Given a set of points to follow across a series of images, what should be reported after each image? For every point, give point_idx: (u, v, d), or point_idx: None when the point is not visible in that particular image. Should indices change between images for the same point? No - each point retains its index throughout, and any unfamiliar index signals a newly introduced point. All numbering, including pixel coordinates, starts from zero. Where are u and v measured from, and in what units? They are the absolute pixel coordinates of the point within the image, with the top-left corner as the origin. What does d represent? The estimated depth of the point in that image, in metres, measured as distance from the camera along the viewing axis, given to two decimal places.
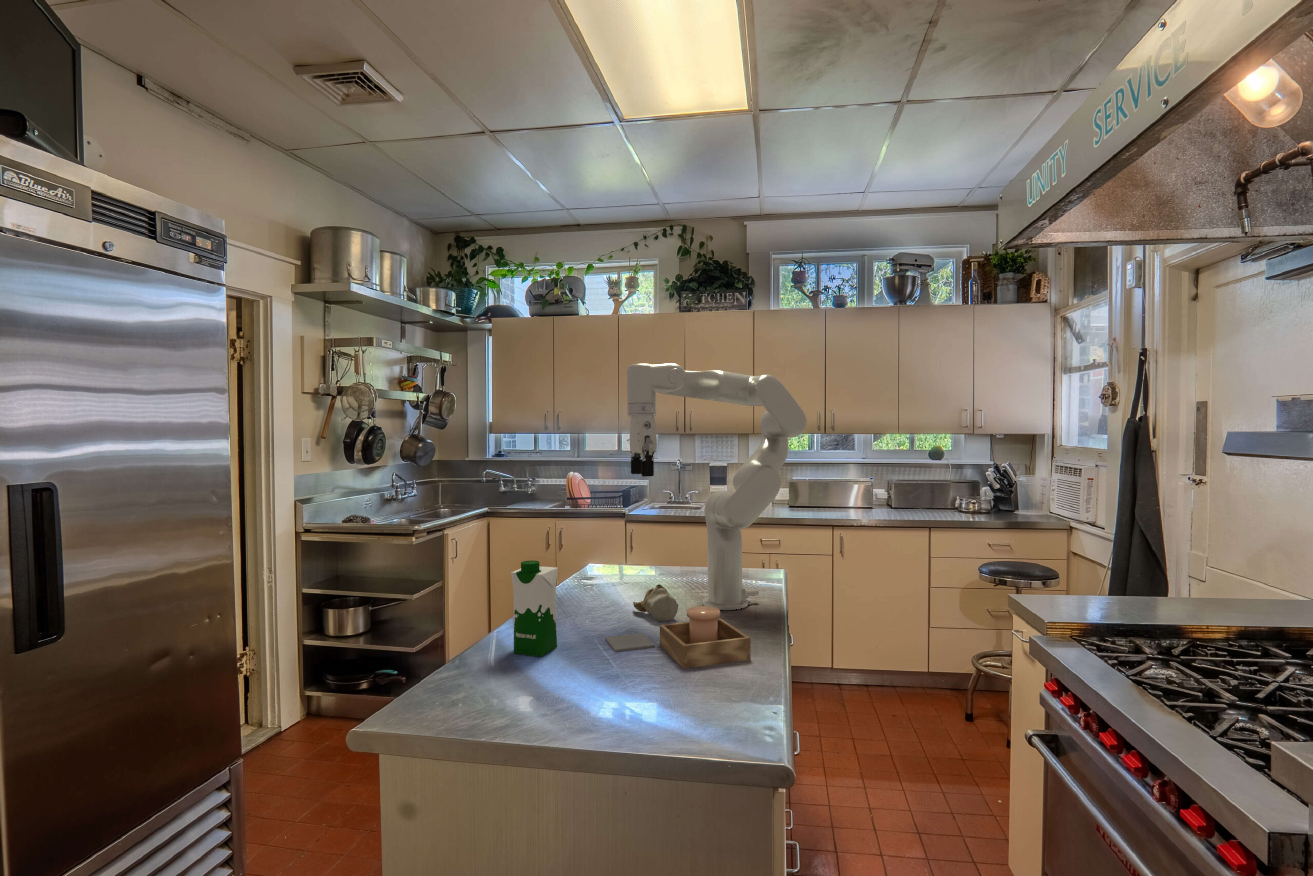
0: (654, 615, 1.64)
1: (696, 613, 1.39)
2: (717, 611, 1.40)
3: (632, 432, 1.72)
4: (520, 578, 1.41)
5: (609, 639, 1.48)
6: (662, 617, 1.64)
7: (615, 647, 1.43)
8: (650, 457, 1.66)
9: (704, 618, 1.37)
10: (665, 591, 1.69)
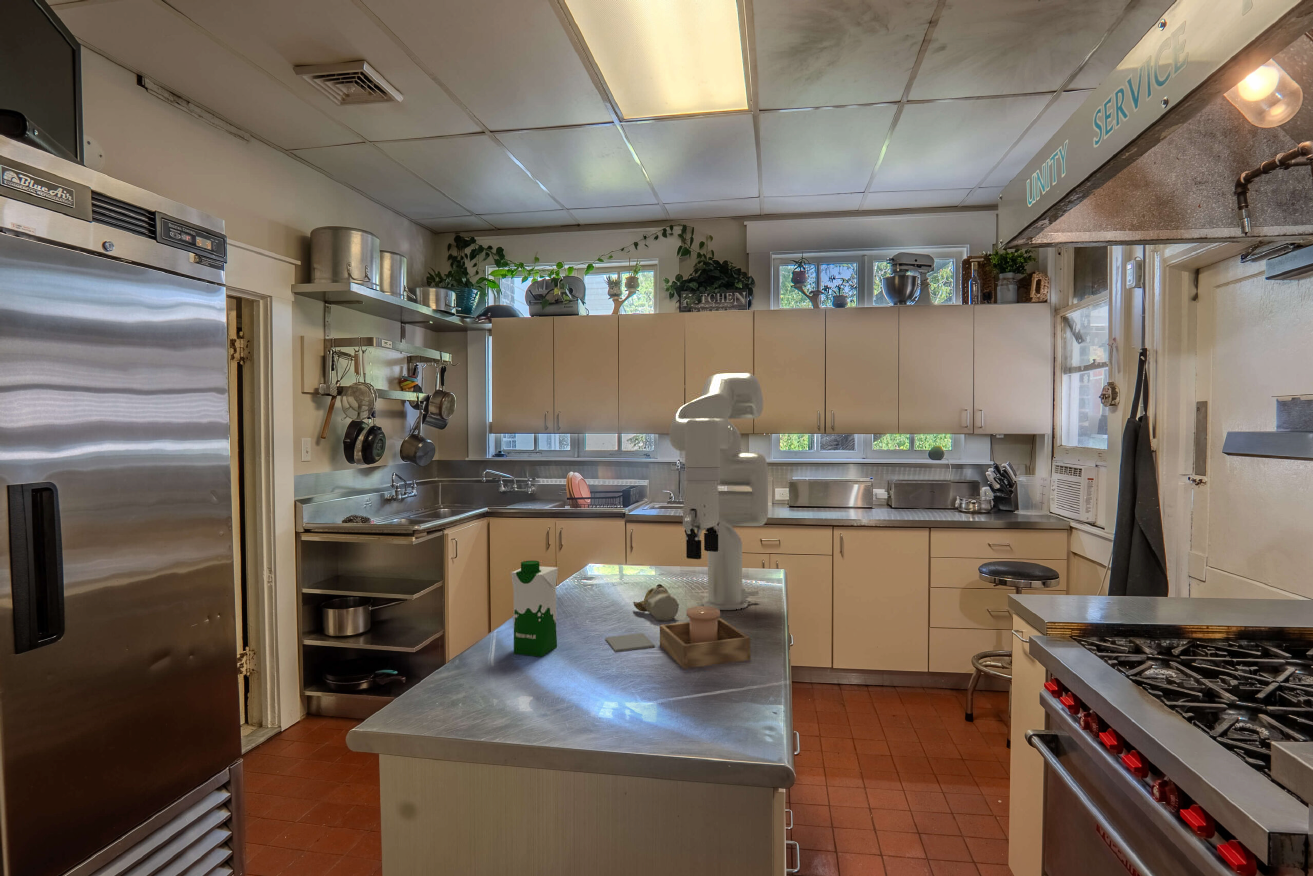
0: (655, 615, 1.65)
1: (696, 613, 1.39)
2: (717, 611, 1.40)
3: (712, 502, 1.39)
4: (520, 578, 1.41)
5: (609, 639, 1.48)
6: (662, 616, 1.65)
7: (615, 647, 1.43)
8: None
9: (704, 618, 1.37)
10: (666, 591, 1.69)
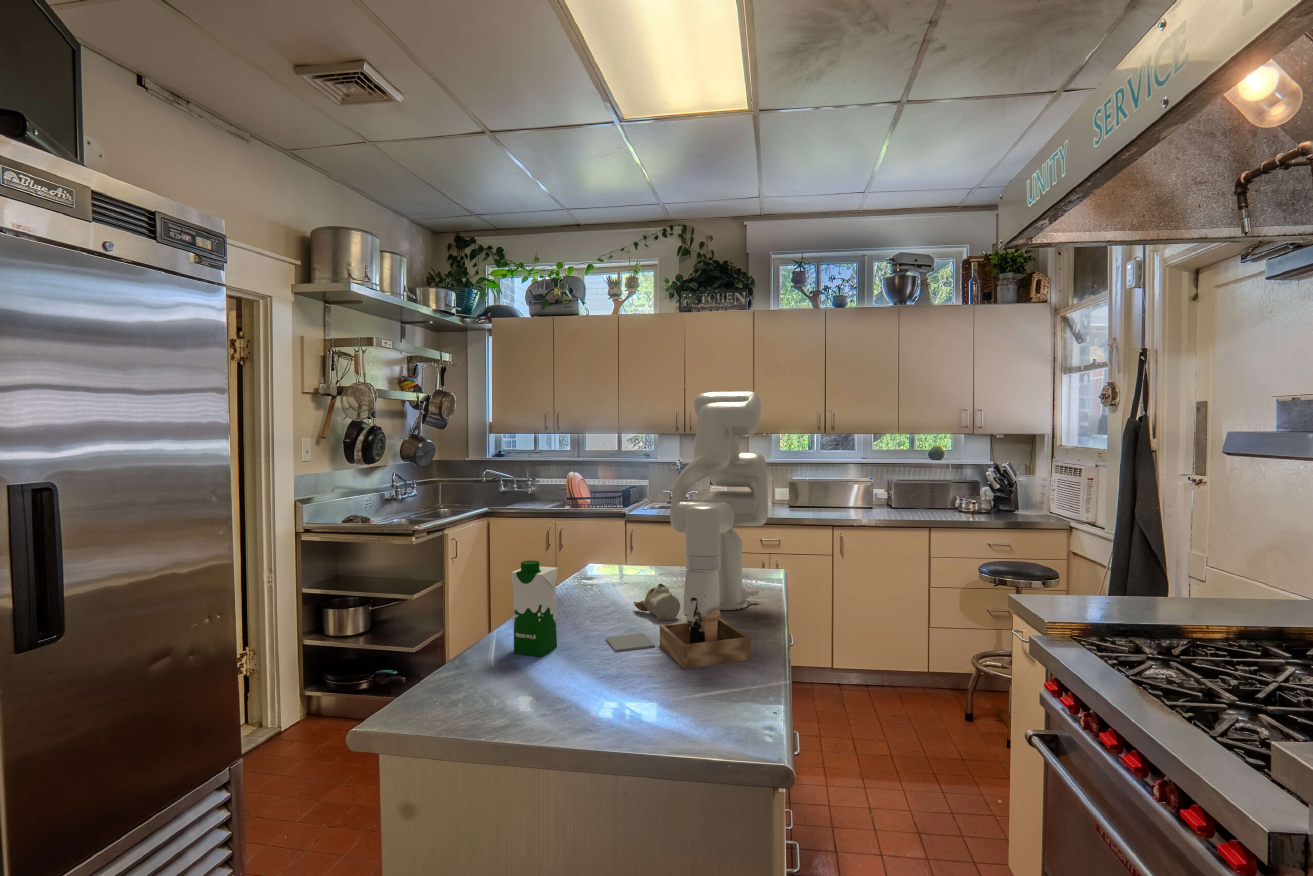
0: (657, 614, 1.65)
1: None
2: (717, 611, 1.40)
3: (713, 590, 1.39)
4: (520, 578, 1.41)
5: (609, 639, 1.48)
6: (664, 616, 1.65)
7: (615, 647, 1.43)
8: None
9: (704, 618, 1.37)
10: (667, 590, 1.69)
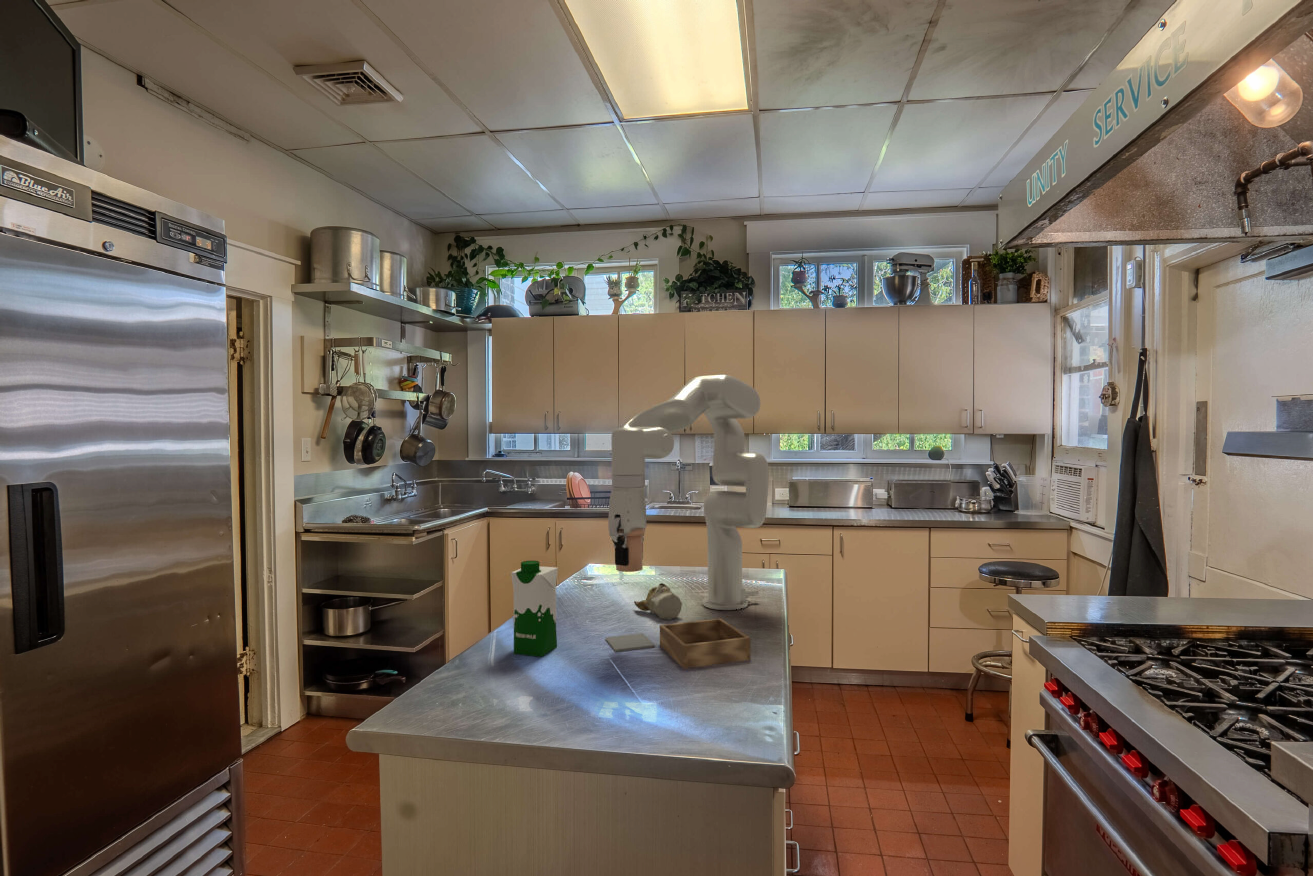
0: (659, 613, 1.66)
1: None
2: (642, 529, 1.46)
3: (637, 508, 1.45)
4: (520, 578, 1.41)
5: (609, 639, 1.48)
6: (667, 615, 1.66)
7: (615, 647, 1.43)
8: None
9: (628, 534, 1.43)
10: (668, 589, 1.70)
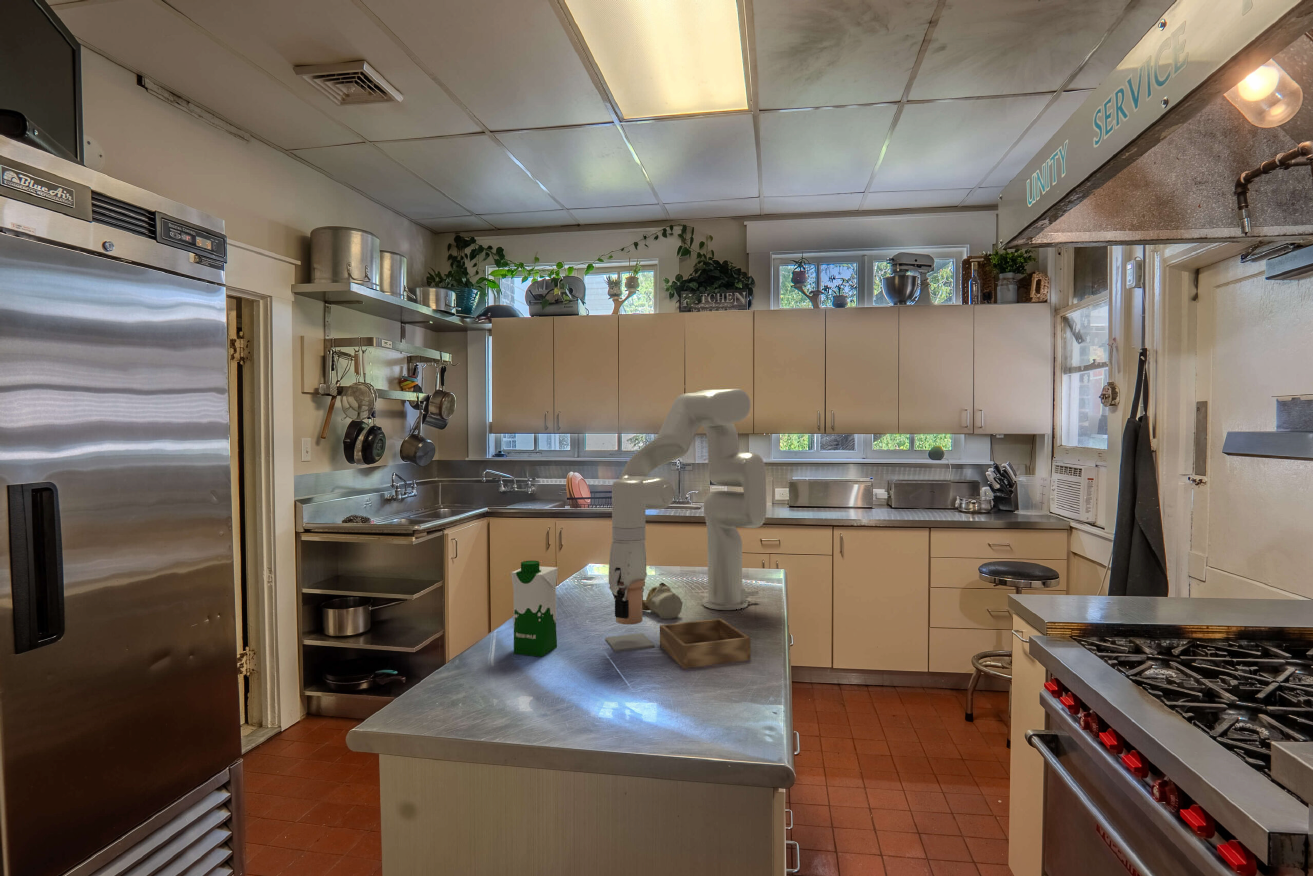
0: (660, 613, 1.66)
1: (621, 583, 1.45)
2: (642, 581, 1.46)
3: (638, 560, 1.45)
4: (520, 578, 1.41)
5: (609, 639, 1.48)
6: (667, 614, 1.66)
7: (615, 647, 1.43)
8: None
9: (628, 587, 1.43)
10: (669, 589, 1.71)
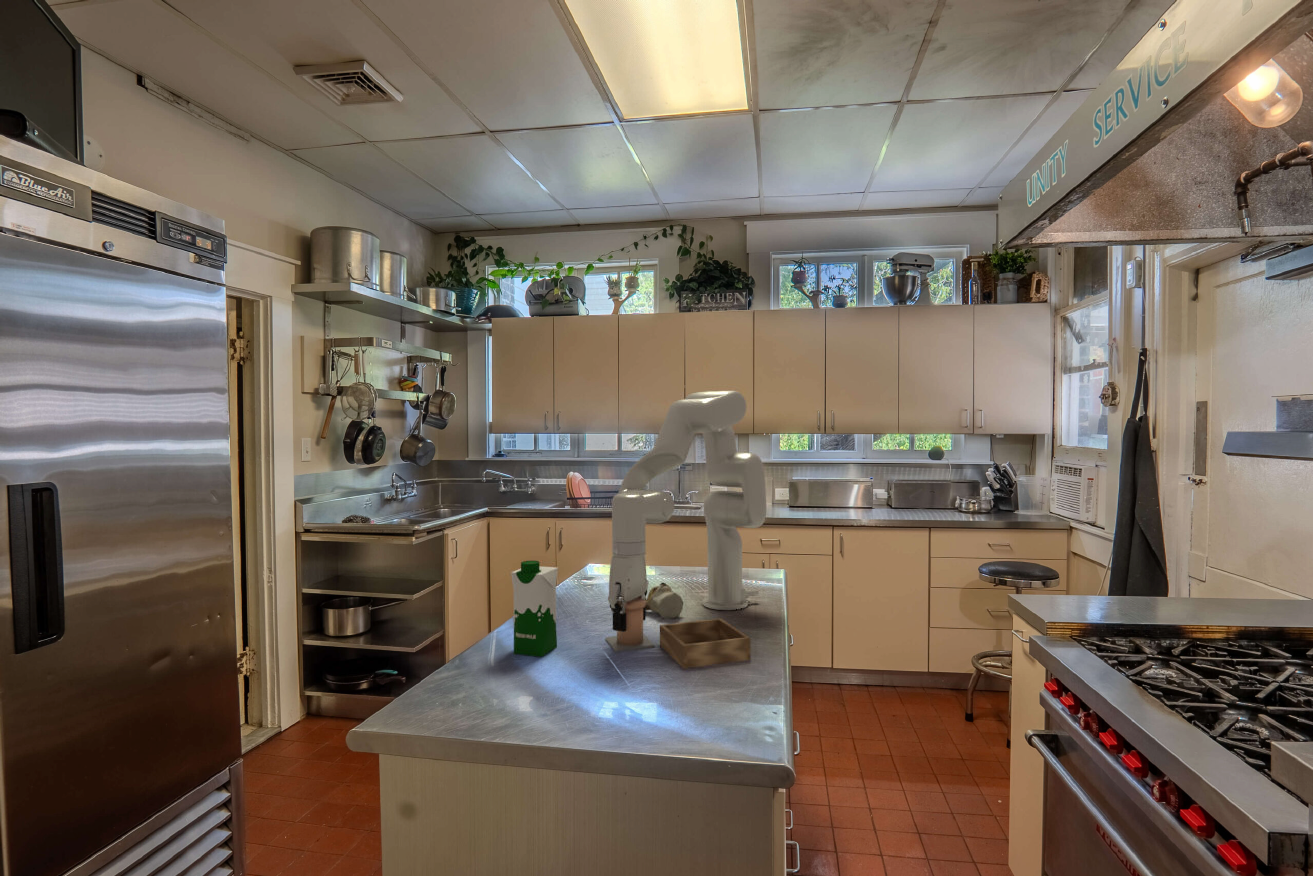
0: (661, 613, 1.66)
1: None
2: (642, 602, 1.46)
3: (638, 575, 1.46)
4: (520, 578, 1.41)
5: (609, 639, 1.48)
6: (669, 614, 1.67)
7: (615, 647, 1.43)
8: None
9: (629, 608, 1.43)
10: (670, 589, 1.71)
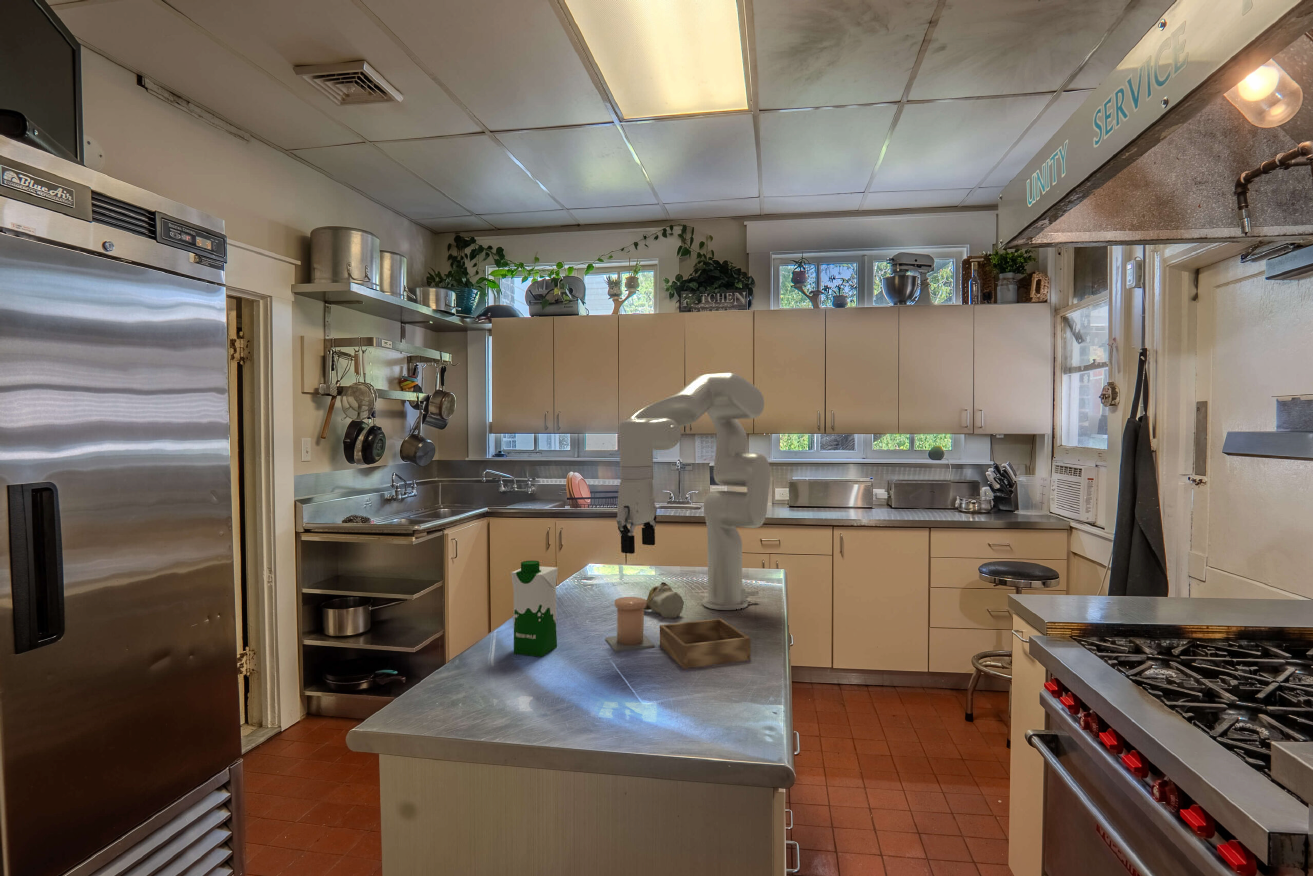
0: (662, 612, 1.67)
1: (622, 603, 1.45)
2: (643, 602, 1.46)
3: (646, 499, 1.46)
4: (520, 578, 1.41)
5: (609, 639, 1.48)
6: (669, 614, 1.67)
7: (615, 647, 1.43)
8: None
9: (629, 608, 1.43)
10: (670, 588, 1.71)
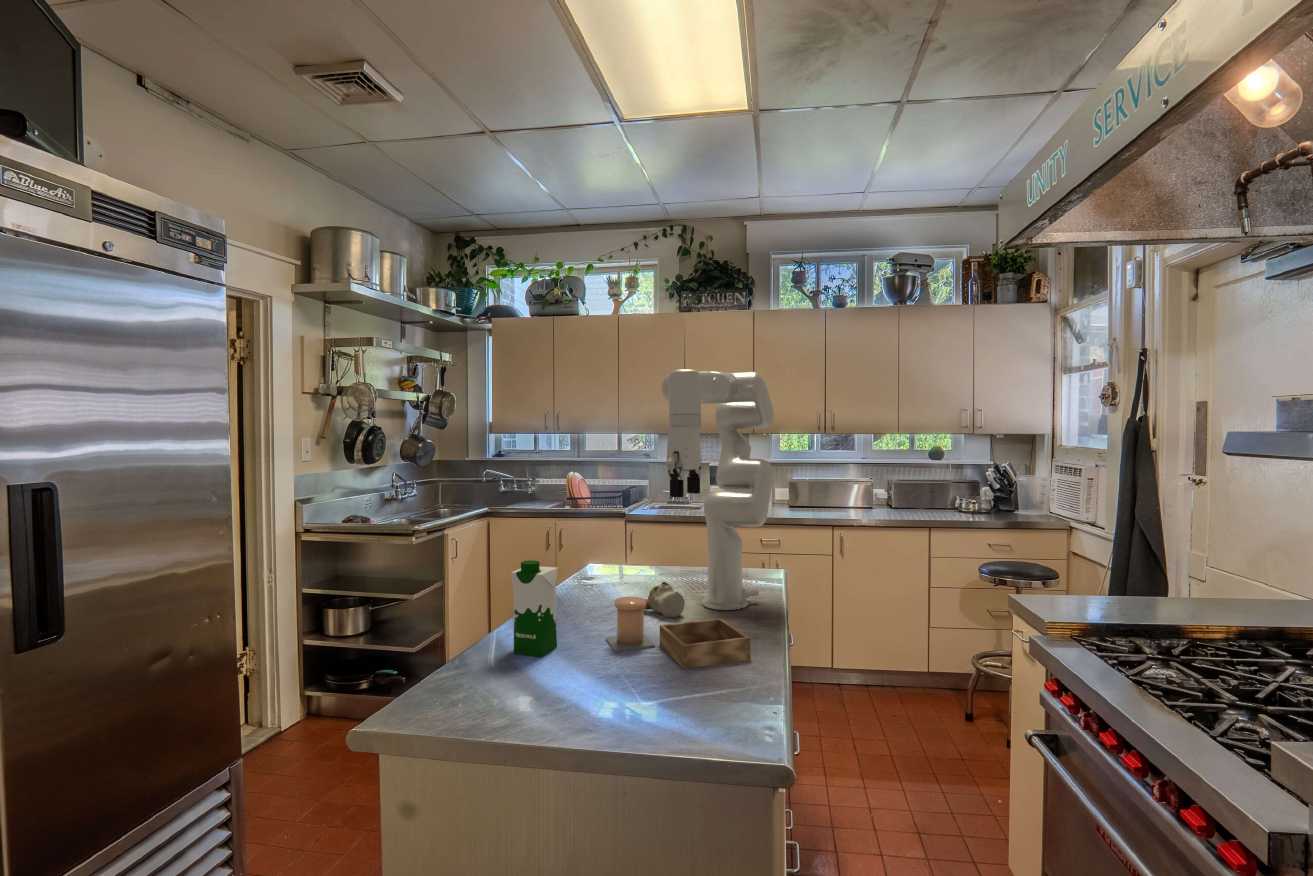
0: (663, 612, 1.67)
1: (622, 603, 1.45)
2: (643, 602, 1.46)
3: (694, 447, 1.52)
4: (520, 578, 1.41)
5: (609, 639, 1.48)
6: (671, 613, 1.67)
7: (615, 647, 1.43)
8: None
9: (628, 608, 1.43)
10: (671, 588, 1.72)
